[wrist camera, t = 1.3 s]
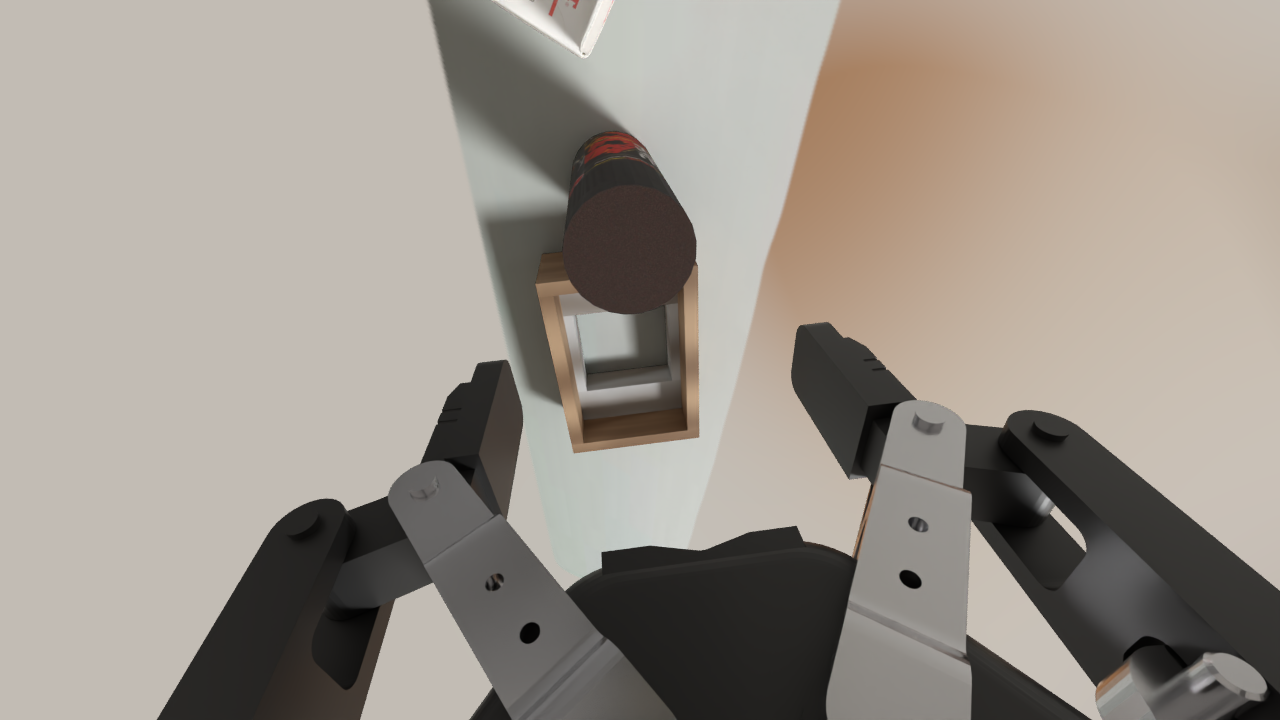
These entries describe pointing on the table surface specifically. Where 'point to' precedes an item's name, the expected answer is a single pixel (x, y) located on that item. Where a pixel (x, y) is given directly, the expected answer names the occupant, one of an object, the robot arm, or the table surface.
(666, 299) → the deodorant
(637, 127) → the table surface
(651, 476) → the table surface
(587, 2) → the ink cartridge box
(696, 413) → the light wooden box
